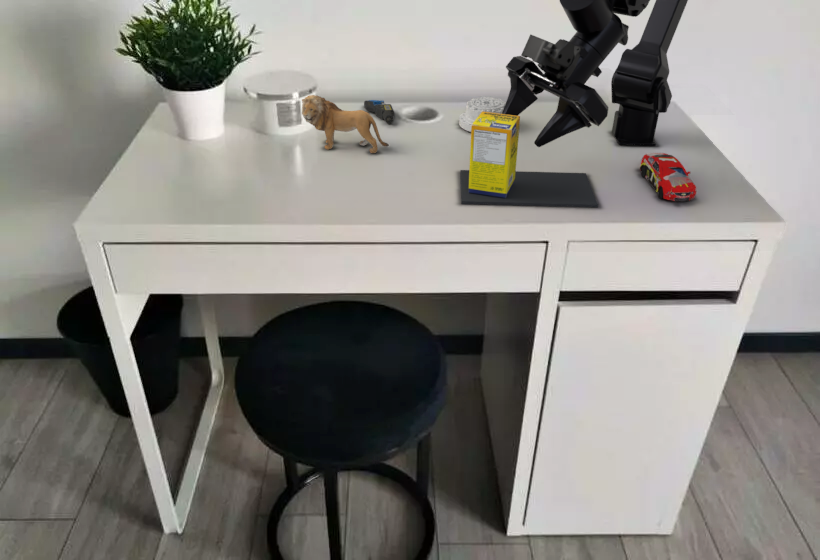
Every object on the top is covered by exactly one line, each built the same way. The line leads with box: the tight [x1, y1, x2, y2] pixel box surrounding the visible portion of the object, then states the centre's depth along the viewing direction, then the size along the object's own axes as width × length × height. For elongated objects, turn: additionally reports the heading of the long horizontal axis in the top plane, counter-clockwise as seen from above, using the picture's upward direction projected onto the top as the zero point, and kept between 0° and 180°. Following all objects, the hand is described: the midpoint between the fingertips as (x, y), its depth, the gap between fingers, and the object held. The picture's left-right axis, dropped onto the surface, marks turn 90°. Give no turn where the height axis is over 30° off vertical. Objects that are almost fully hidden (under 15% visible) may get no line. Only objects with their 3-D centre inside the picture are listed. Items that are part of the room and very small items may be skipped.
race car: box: [639, 152, 697, 202], centre depth 109 cm, size 13×5×4 cm, turn 2°
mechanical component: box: [458, 96, 506, 133], centre depth 130 cm, size 10×4×10 cm
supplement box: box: [468, 111, 521, 198], centre depth 105 cm, size 6×6×11 cm
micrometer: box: [363, 99, 395, 124], centre depth 135 cm, size 12×2×5 cm
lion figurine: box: [301, 94, 390, 154], centre depth 120 cm, size 15×5×9 cm, turn 86°
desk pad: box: [459, 169, 599, 208], centre depth 109 cm, size 20×11×1 cm, turn 87°
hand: (517, 134), depth 106 cm, fingers open, 9 cm apart
